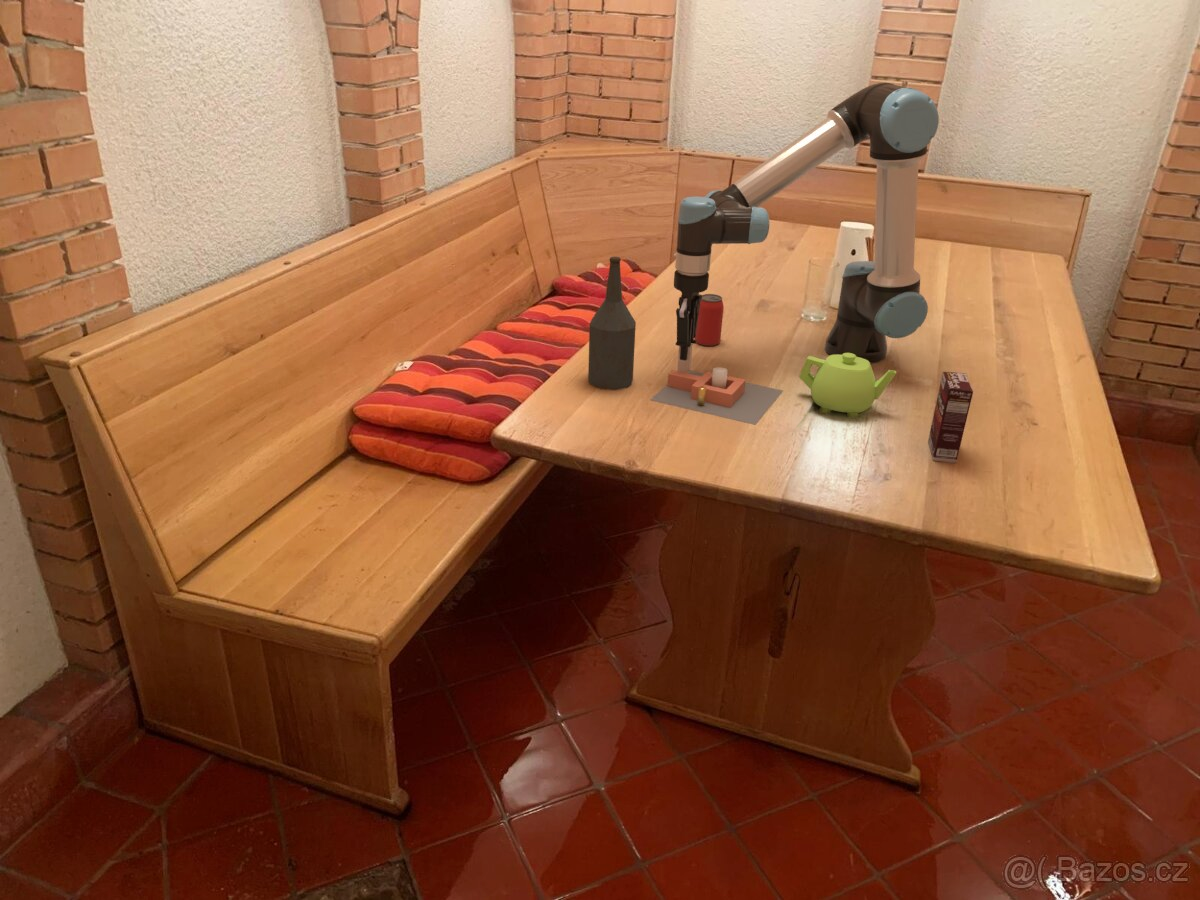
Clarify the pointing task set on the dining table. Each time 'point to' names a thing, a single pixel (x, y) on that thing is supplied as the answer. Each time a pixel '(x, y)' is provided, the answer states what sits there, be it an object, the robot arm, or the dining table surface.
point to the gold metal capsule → (701, 396)
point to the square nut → (708, 387)
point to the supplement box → (950, 416)
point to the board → (743, 409)
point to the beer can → (709, 320)
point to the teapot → (844, 383)
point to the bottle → (612, 338)
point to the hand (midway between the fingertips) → (683, 371)
